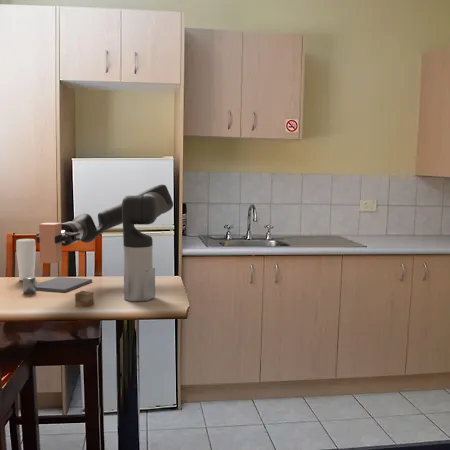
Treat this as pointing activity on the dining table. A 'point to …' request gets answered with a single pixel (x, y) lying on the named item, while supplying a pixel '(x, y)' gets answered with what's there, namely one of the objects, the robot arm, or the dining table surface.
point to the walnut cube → (84, 299)
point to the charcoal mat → (62, 284)
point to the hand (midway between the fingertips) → (46, 239)
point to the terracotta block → (50, 243)
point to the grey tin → (29, 285)
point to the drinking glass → (26, 257)
